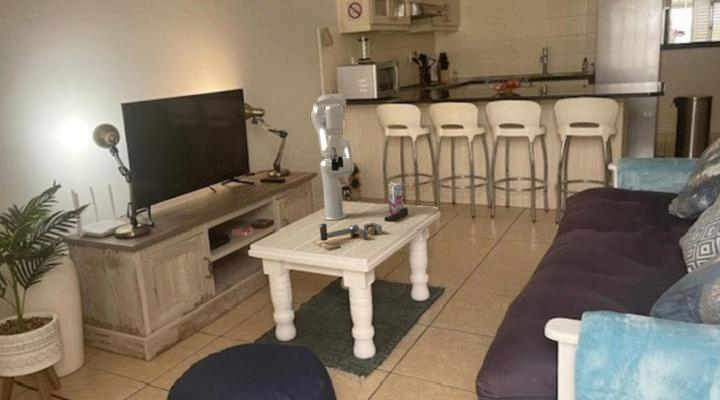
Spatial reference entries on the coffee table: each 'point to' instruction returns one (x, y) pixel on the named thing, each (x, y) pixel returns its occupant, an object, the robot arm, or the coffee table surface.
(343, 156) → the robot arm
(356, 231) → the lever
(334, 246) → the tan wooden panel
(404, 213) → the hand tool
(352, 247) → the coffee table surface
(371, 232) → the walnut
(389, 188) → the candy bar box
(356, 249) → the coffee table surface
